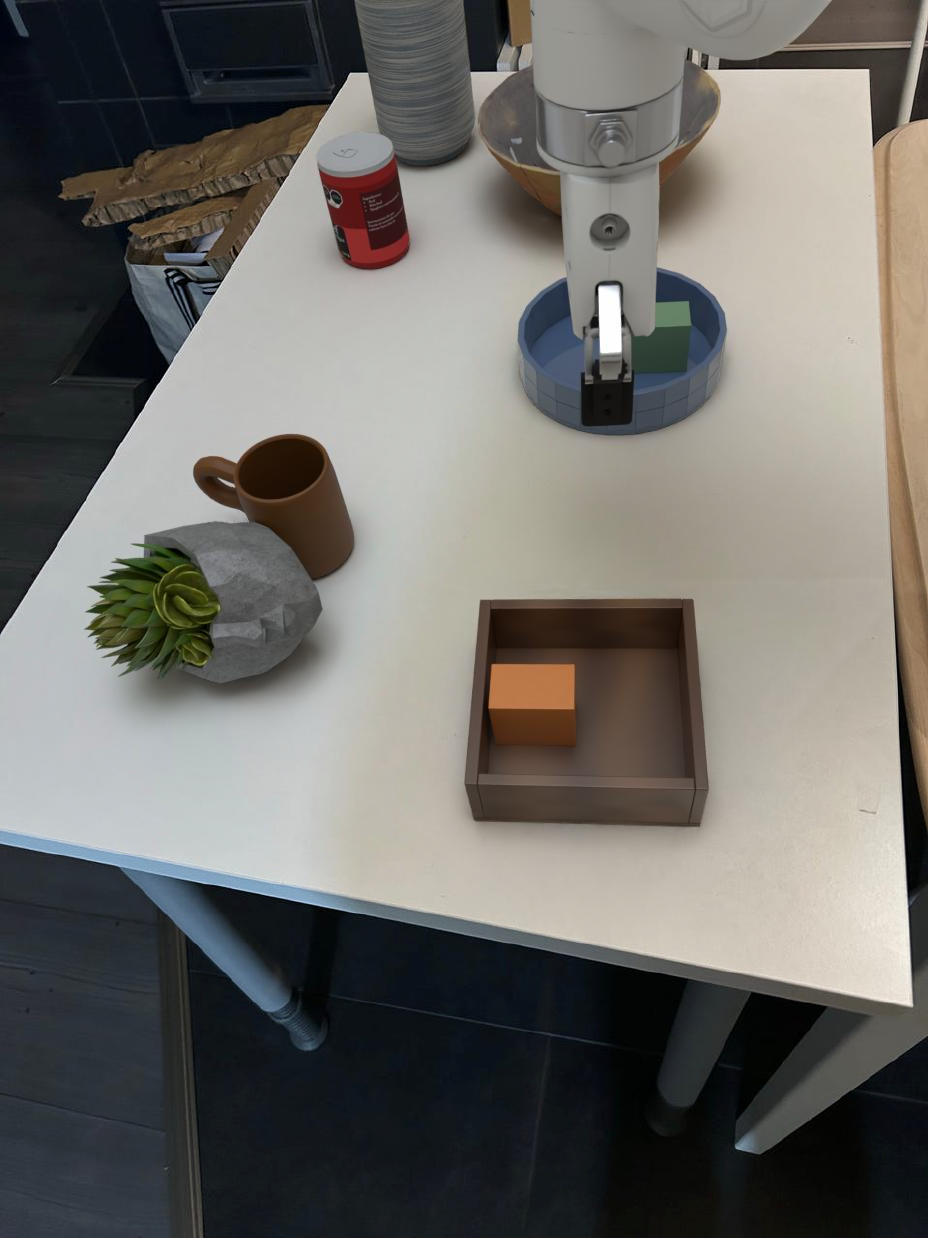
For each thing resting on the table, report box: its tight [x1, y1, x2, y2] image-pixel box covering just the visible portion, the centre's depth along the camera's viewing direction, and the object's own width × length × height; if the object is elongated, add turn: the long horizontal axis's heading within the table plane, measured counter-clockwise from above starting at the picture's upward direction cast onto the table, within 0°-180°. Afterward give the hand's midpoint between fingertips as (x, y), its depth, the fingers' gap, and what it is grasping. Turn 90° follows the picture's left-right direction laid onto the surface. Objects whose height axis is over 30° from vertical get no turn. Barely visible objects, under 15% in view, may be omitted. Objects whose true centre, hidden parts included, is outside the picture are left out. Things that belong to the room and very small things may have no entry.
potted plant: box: [83, 520, 323, 684], centre depth 66 cm, size 12×13×15 cm
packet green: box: [631, 301, 691, 373], centre depth 82 cm, size 6×3×5 cm, turn 86°
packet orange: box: [489, 664, 576, 746], centre depth 62 cm, size 6×3×5 cm, turn 86°
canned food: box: [315, 131, 410, 270], centre depth 96 cm, size 8×8×11 cm
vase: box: [353, 0, 476, 167], centre depth 103 cm, size 12×12×23 cm
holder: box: [463, 597, 710, 828], centre depth 61 cm, size 15×14×6 cm
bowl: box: [477, 59, 722, 217], centre depth 98 cm, size 25×25×10 cm
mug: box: [192, 433, 355, 580], centre depth 73 cm, size 12×8×9 cm, turn 73°
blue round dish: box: [517, 266, 728, 436], centre depth 83 cm, size 18×18×4 cm
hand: (603, 372), depth 62 cm, fingers open, 9 cm apart
